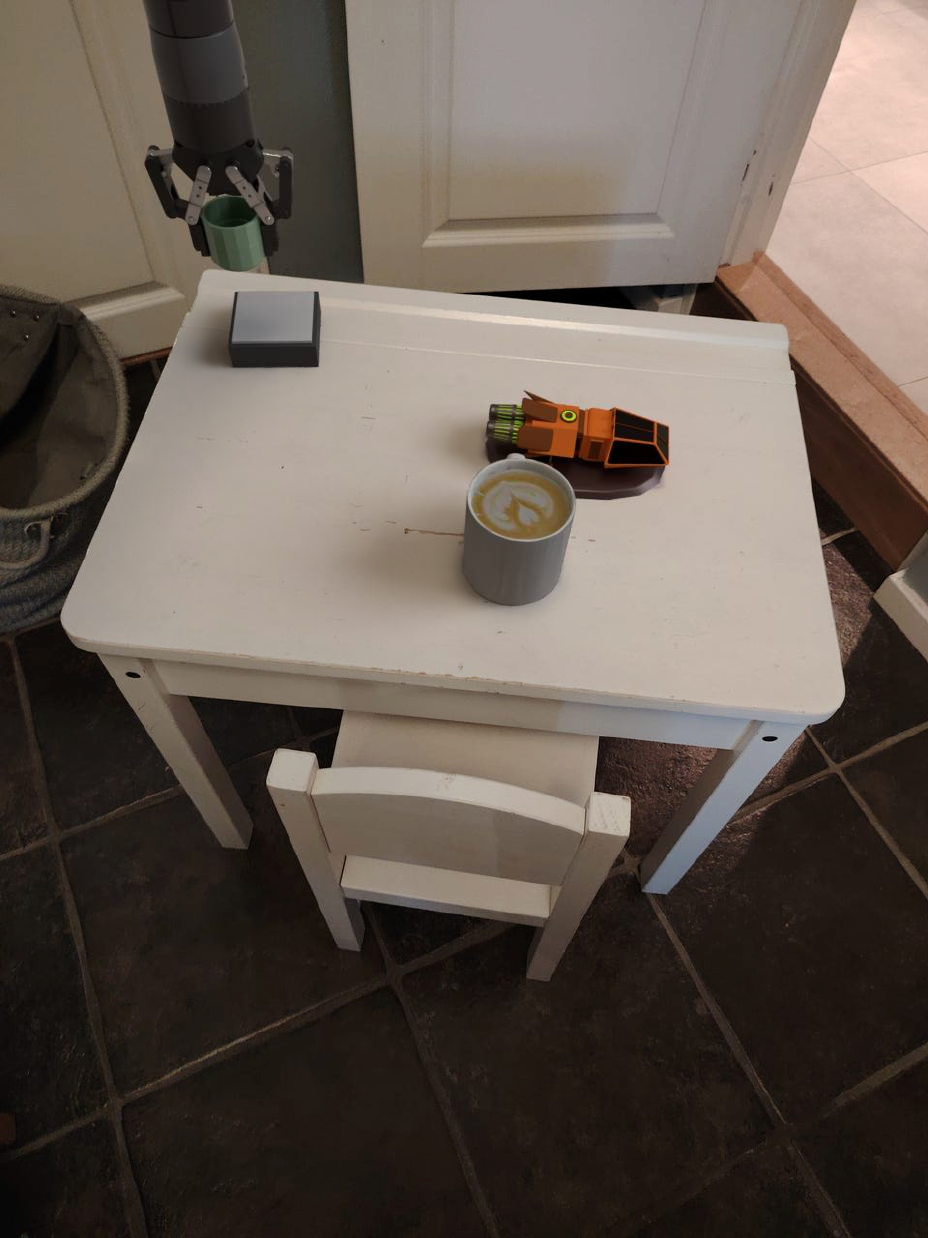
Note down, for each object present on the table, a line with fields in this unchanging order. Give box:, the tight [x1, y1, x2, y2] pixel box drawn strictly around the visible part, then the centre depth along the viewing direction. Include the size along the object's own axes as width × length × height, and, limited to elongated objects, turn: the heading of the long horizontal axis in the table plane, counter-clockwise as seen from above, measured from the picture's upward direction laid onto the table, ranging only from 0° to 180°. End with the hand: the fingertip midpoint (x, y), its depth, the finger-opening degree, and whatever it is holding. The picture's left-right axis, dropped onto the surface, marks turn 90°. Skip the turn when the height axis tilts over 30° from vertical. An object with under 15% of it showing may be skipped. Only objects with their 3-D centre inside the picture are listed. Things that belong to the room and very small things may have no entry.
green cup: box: [200, 194, 267, 273], centre depth 85 cm, size 6×6×5 cm
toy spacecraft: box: [484, 389, 670, 500], centre depth 89 cm, size 12×20×6 cm, turn 82°
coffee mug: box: [461, 453, 577, 606], centre depth 80 cm, size 13×10×10 cm
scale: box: [227, 290, 322, 369], centre depth 99 cm, size 10×10×3 cm
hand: (239, 251), depth 87 cm, fingers closed on green cup, 6 cm apart
